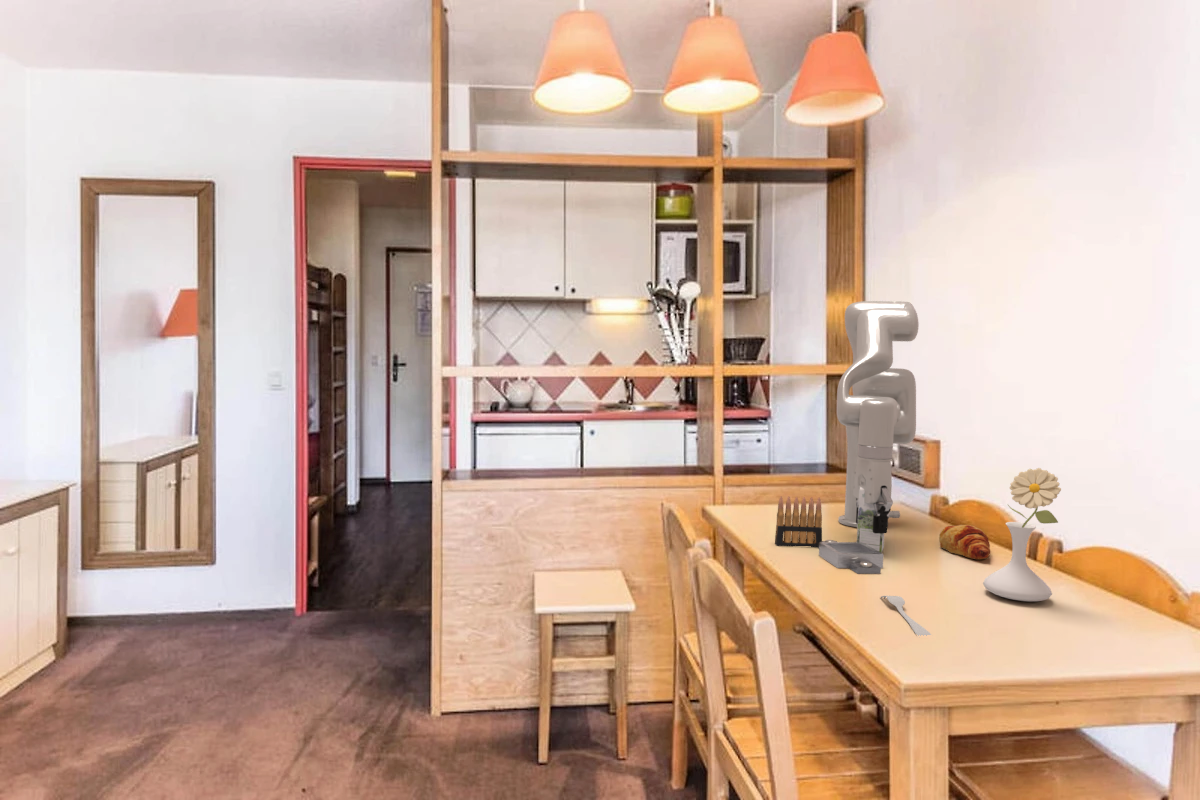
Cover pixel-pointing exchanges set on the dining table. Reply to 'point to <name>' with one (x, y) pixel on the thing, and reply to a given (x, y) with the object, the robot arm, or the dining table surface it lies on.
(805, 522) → the ammunition clip
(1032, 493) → the flower in vase
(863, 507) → the syrup box
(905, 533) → the dining table surface
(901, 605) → the fork
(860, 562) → the bolted metal bracket
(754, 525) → the dining table surface
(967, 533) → the croissant
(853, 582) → the dining table surface
